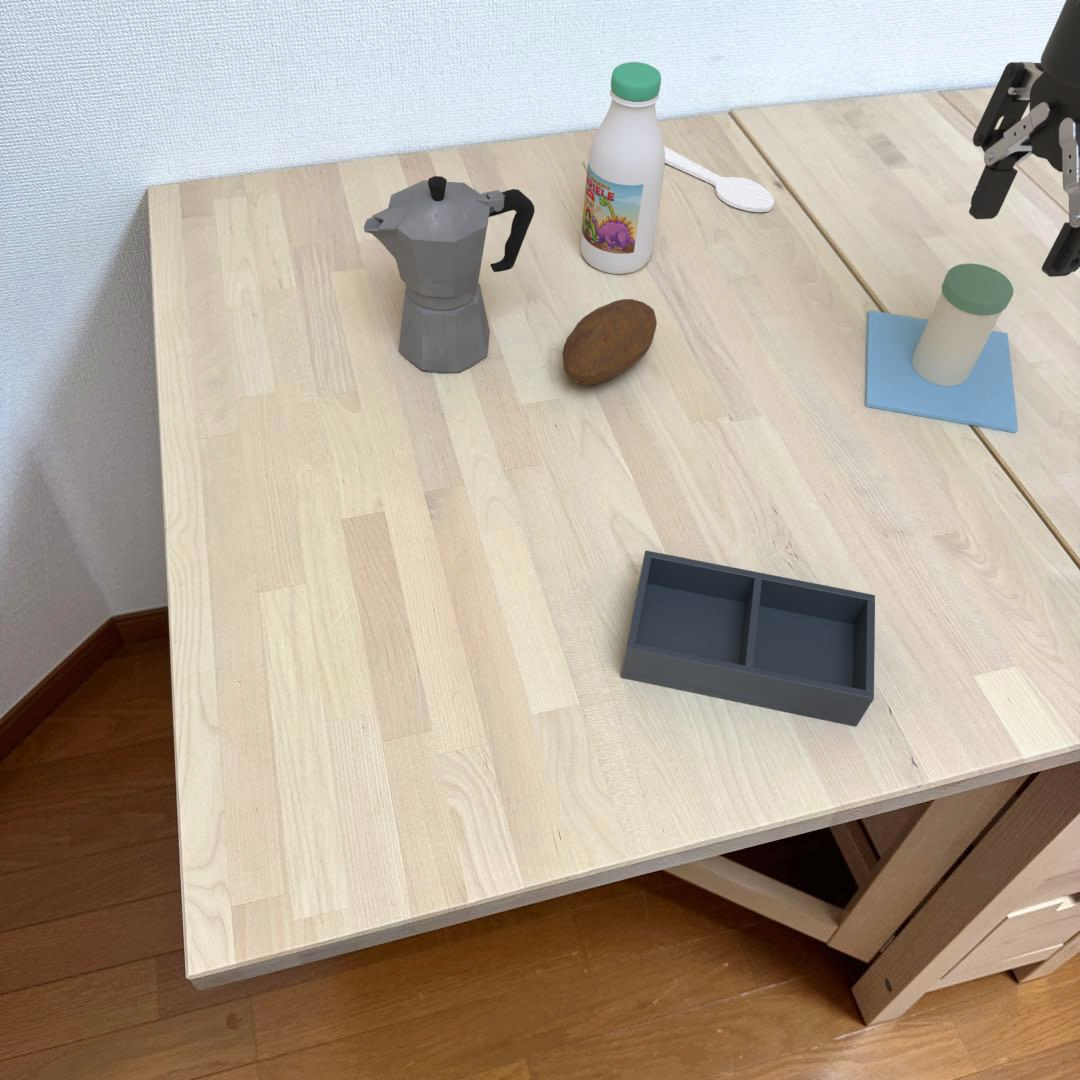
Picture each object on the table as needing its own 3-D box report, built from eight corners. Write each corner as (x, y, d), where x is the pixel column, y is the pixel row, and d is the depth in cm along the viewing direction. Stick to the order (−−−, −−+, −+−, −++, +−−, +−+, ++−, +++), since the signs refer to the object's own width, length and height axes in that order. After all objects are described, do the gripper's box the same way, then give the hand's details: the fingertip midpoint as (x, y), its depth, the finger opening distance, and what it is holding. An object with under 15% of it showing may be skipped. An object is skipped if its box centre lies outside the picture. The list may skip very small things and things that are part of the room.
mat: (1005, 336, 102) (1007, 333, 102) (1016, 433, 94) (1018, 429, 93) (867, 313, 103) (868, 309, 103) (865, 406, 95) (866, 402, 95)
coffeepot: (391, 389, 94) (374, 224, 80) (367, 326, 99) (346, 161, 85) (545, 356, 97) (555, 192, 83) (513, 296, 103) (517, 133, 89)
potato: (541, 384, 95) (544, 327, 90) (610, 322, 101) (617, 265, 95) (599, 416, 93) (605, 360, 87) (666, 352, 99) (676, 295, 93)
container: (984, 374, 98) (1027, 291, 90) (941, 396, 95) (982, 313, 88) (939, 338, 101) (977, 255, 93) (896, 359, 98) (932, 276, 91)
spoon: (660, 139, 122) (660, 135, 122) (783, 199, 115) (784, 195, 115) (632, 156, 119) (633, 152, 119) (757, 219, 112) (758, 215, 112)
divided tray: (638, 581, 81) (645, 549, 78) (859, 625, 80) (875, 594, 76) (620, 677, 76) (626, 648, 72) (856, 727, 74) (874, 699, 71)
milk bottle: (618, 223, 111) (639, 43, 95) (666, 258, 108) (696, 77, 92) (565, 249, 108) (578, 67, 92) (613, 285, 105) (634, 103, 89)
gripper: (1270, 43, 58) (1124, 292, 69) (1103, -32, 67) (998, 198, 78) (1172, 40, 55) (1037, 298, 67) (1014, -37, 65) (918, 200, 76)
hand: (1016, 244), depth 72 cm, fingers open, 8 cm apart
